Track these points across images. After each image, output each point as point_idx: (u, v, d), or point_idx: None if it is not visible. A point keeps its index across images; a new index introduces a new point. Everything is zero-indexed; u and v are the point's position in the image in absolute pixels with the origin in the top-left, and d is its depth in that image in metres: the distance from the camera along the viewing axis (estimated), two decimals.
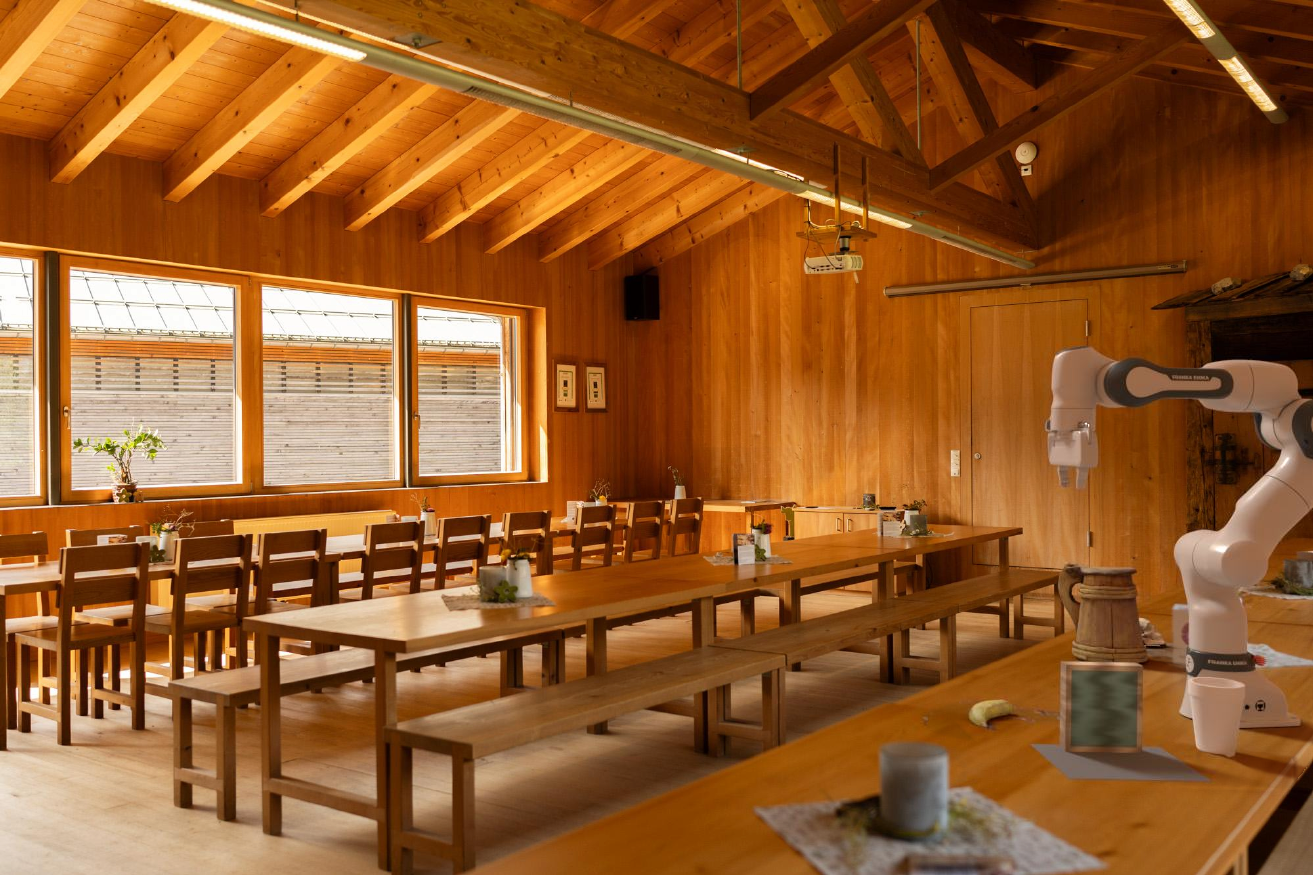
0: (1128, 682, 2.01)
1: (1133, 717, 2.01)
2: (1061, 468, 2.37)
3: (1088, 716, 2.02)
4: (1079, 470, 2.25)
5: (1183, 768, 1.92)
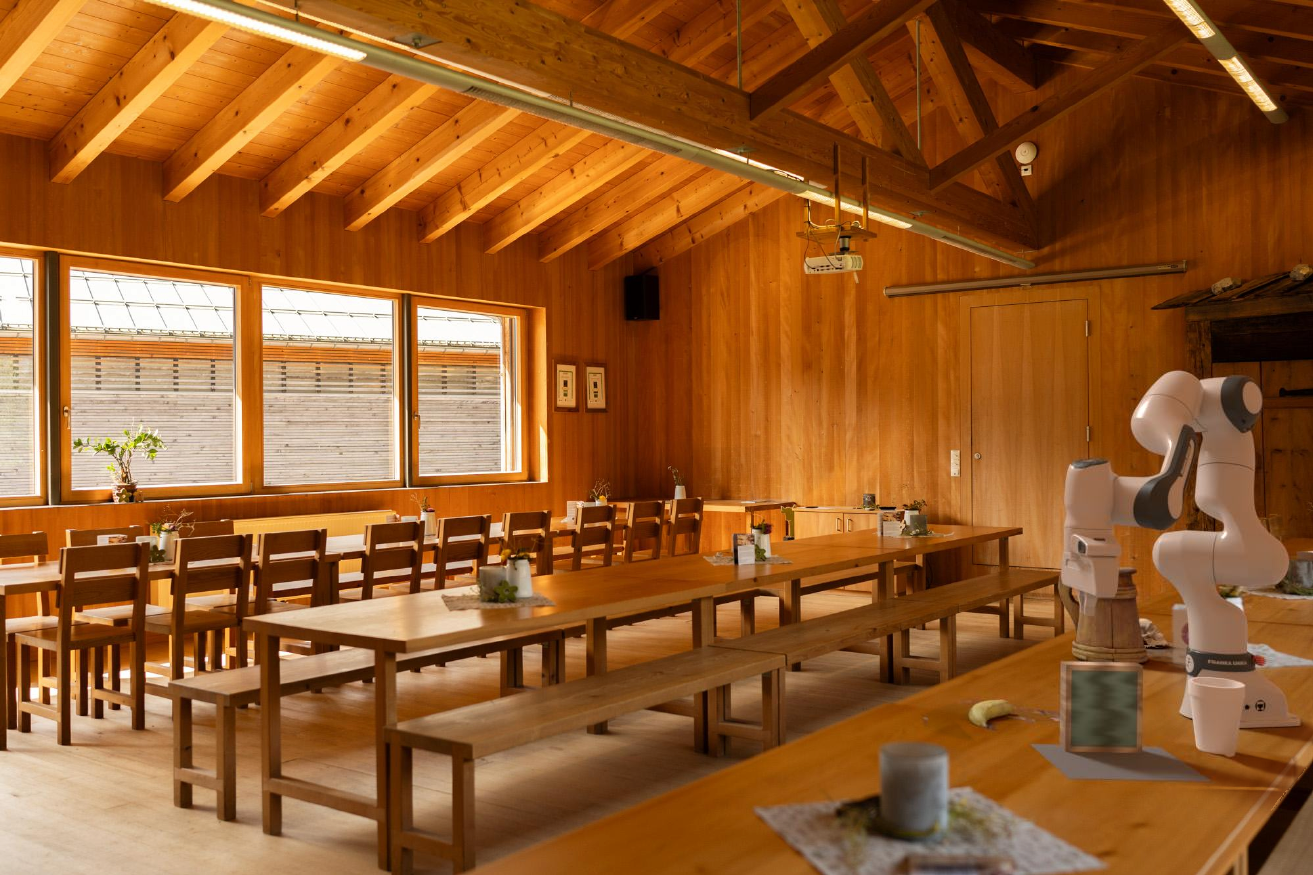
0: (1128, 682, 2.01)
1: (1133, 717, 2.01)
2: None
3: (1088, 716, 2.02)
4: None
5: (1183, 768, 1.92)
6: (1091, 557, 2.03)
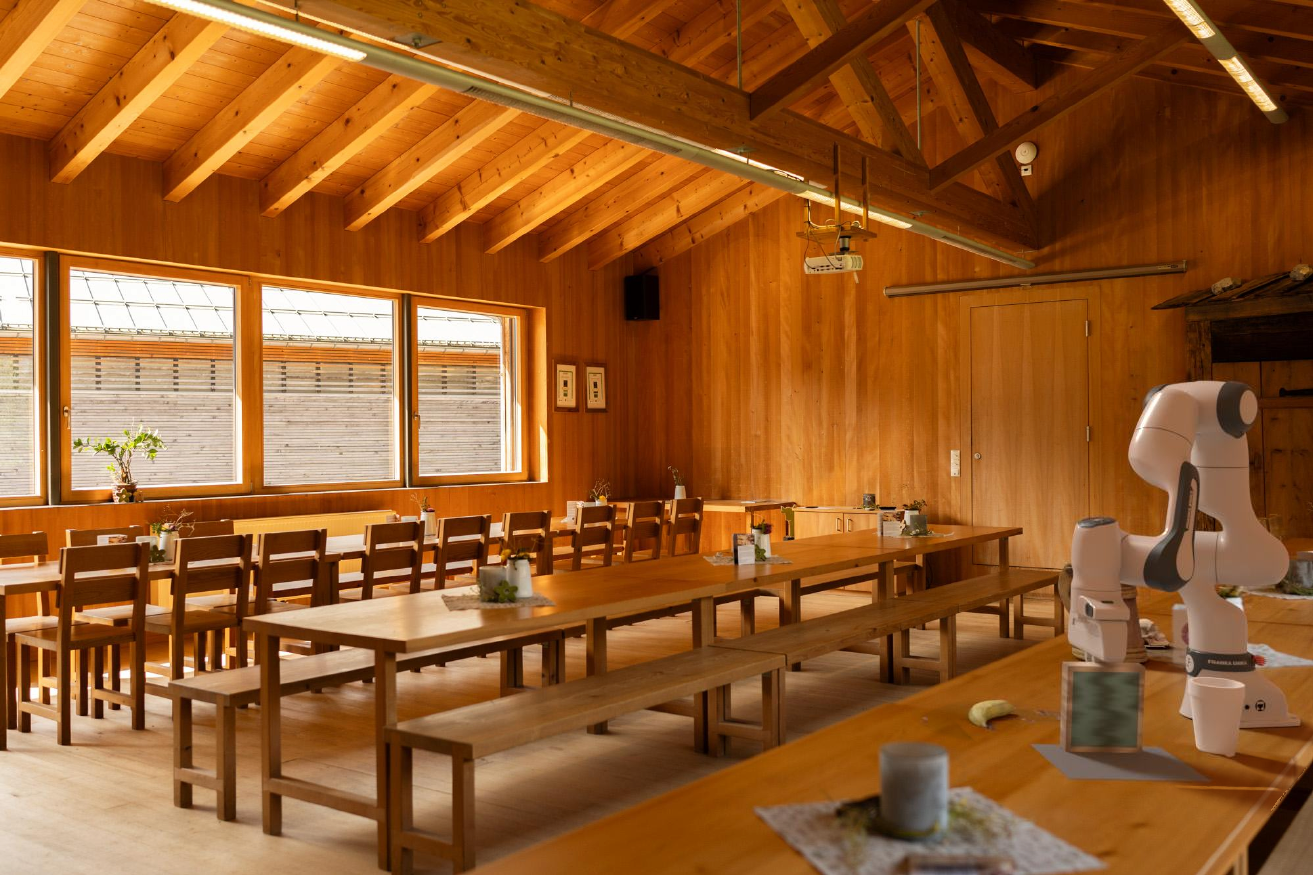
0: (1130, 683, 2.01)
1: (1134, 717, 2.01)
2: None
3: (1089, 717, 2.01)
4: None
5: (1183, 768, 1.92)
6: (1099, 621, 1.98)
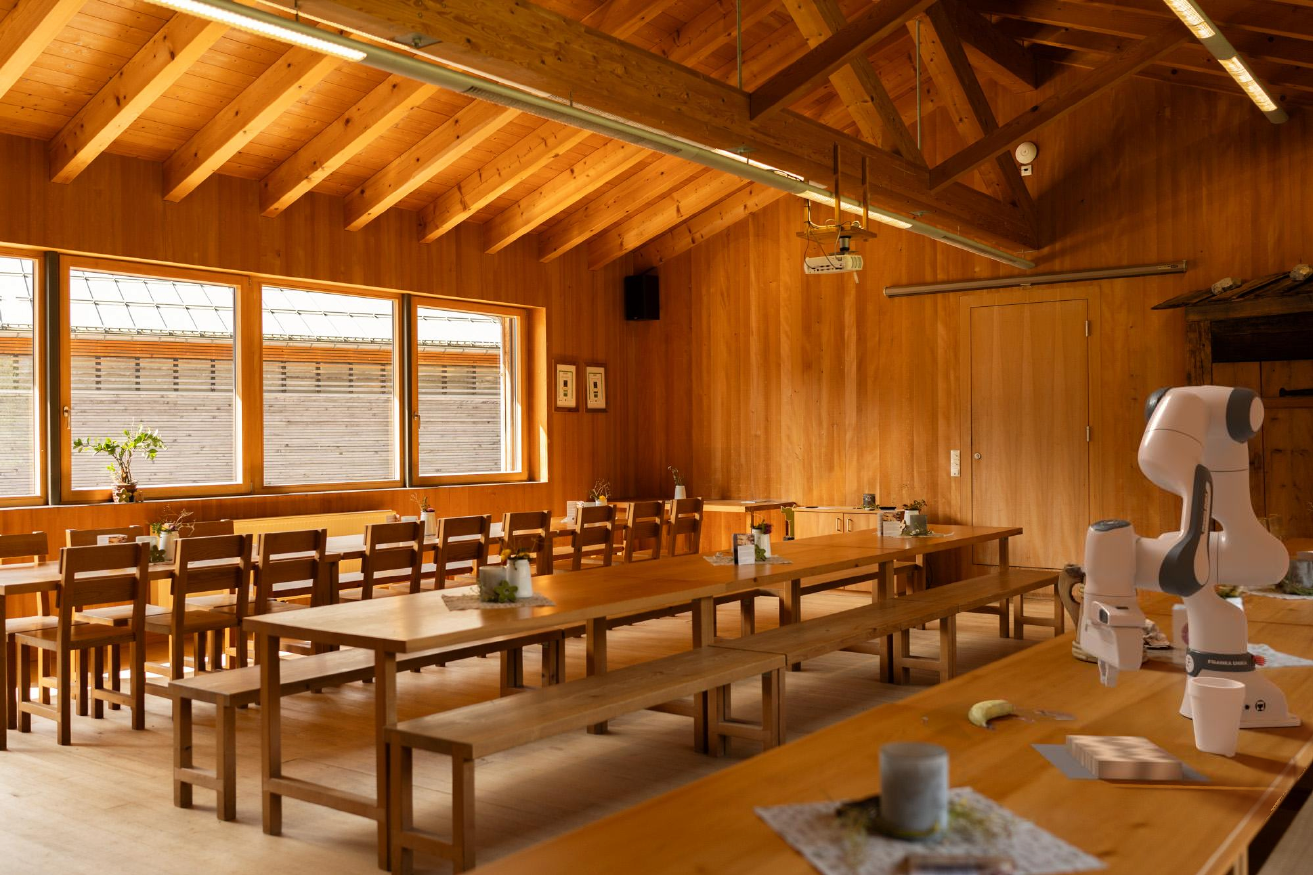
0: None
1: None
2: None
3: None
4: None
5: (1183, 768, 1.92)
6: (1114, 627, 1.91)
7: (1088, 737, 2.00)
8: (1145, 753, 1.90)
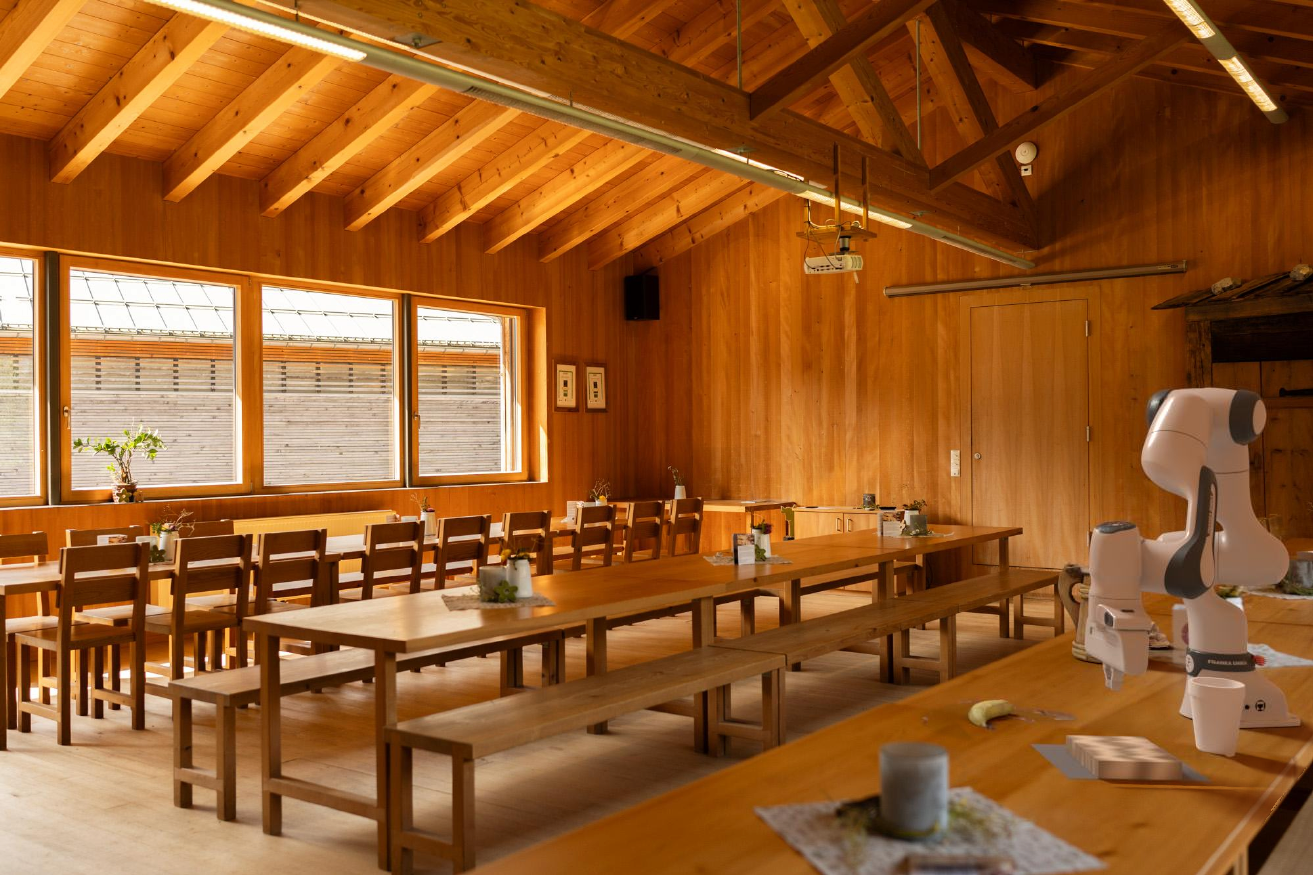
0: None
1: None
2: None
3: None
4: None
5: (1183, 768, 1.92)
6: (1119, 631, 1.89)
7: (1088, 737, 2.00)
8: (1145, 753, 1.90)
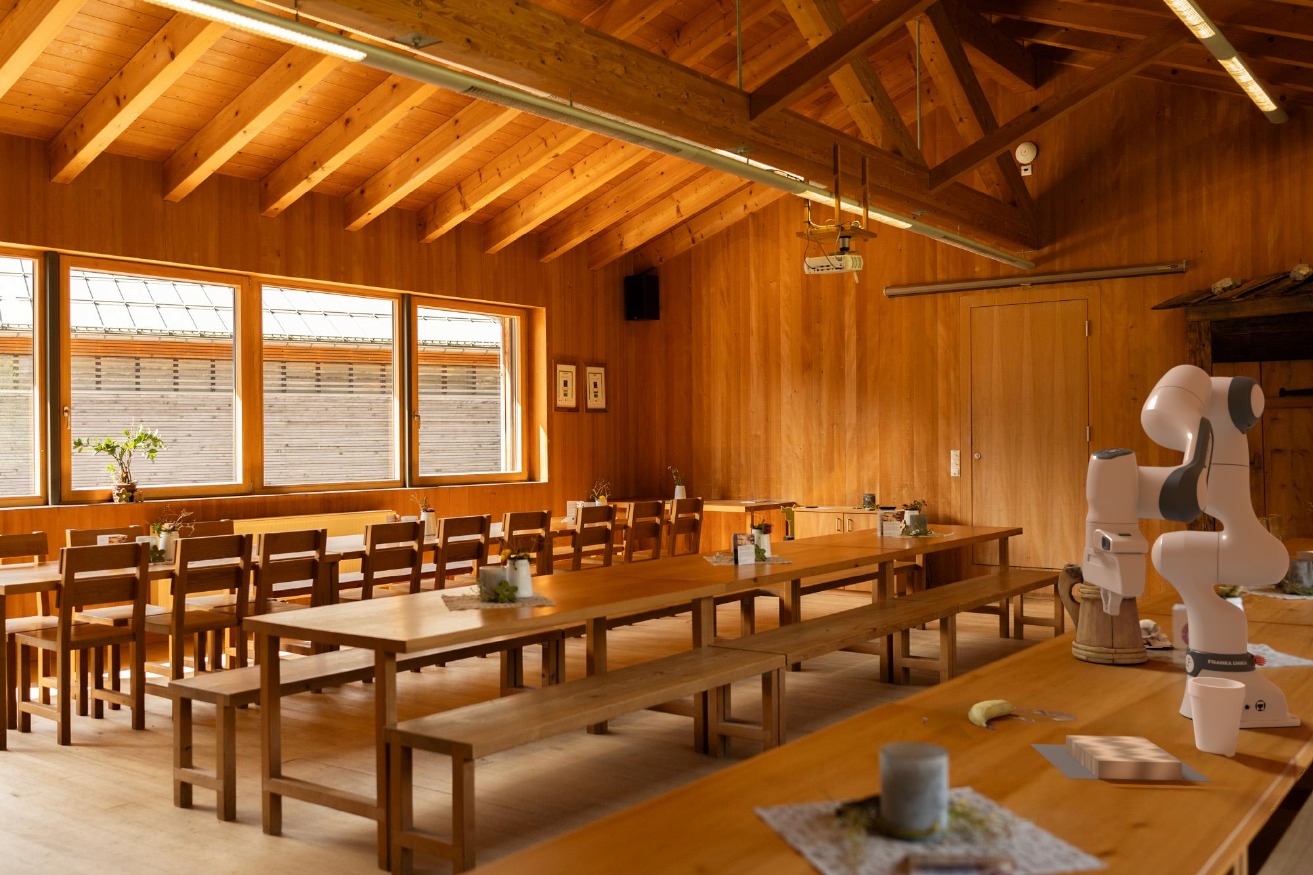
0: None
1: None
2: None
3: None
4: None
5: (1183, 768, 1.92)
6: (1116, 554, 1.91)
7: (1088, 737, 2.00)
8: (1145, 753, 1.90)
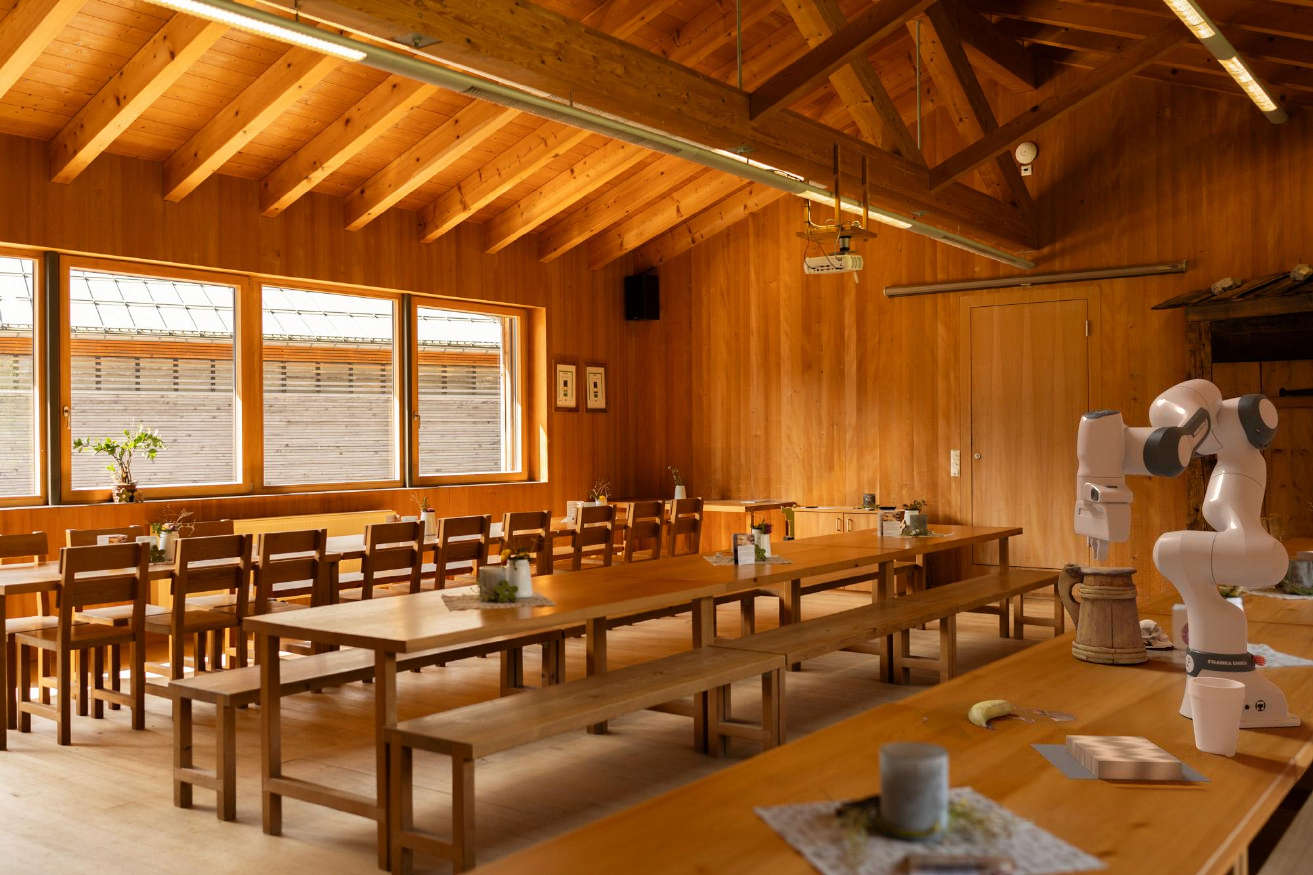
0: None
1: None
2: None
3: None
4: None
5: (1183, 768, 1.92)
6: (1104, 503, 2.10)
7: (1088, 737, 2.00)
8: (1145, 753, 1.90)
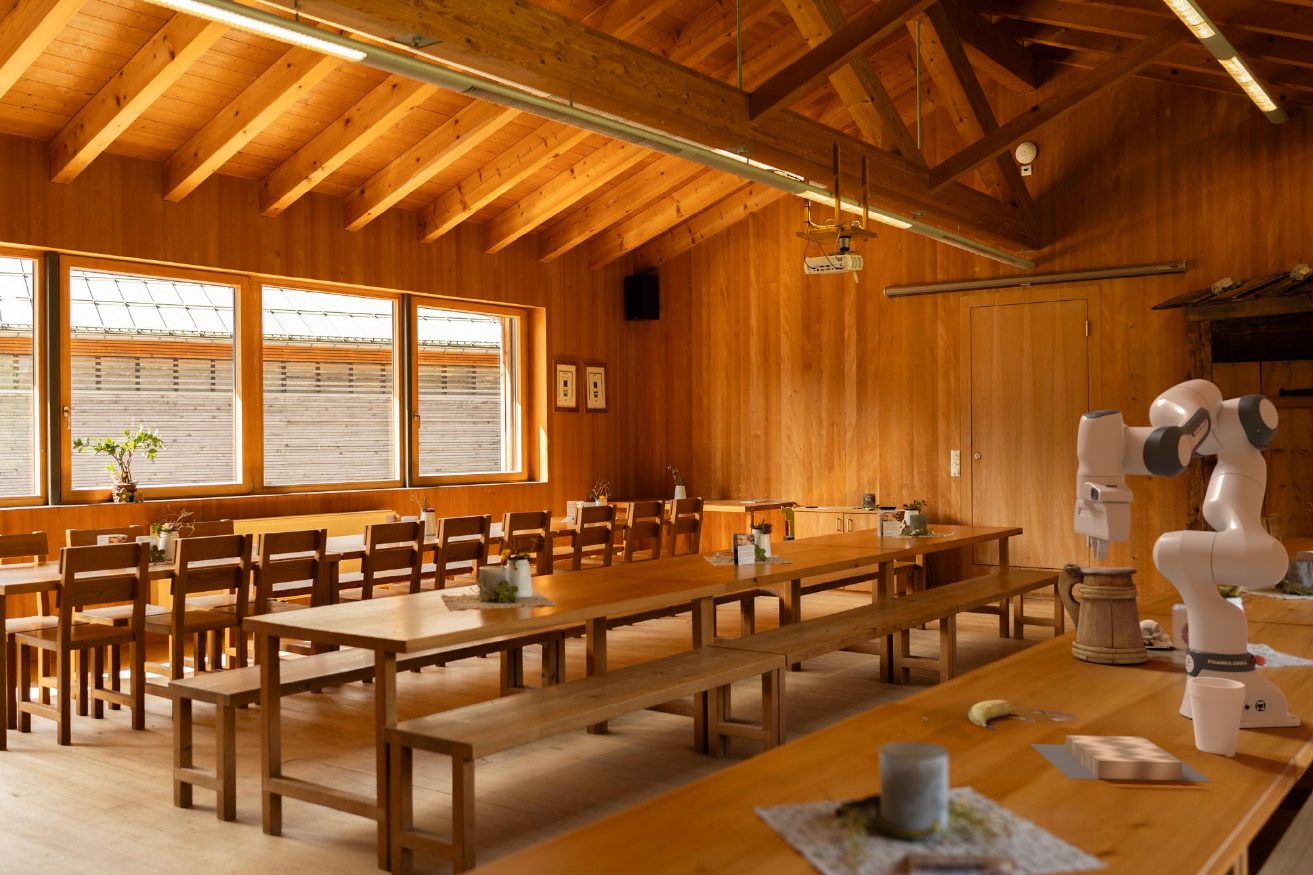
0: None
1: None
2: None
3: None
4: None
5: (1183, 768, 1.92)
6: (1104, 503, 2.10)
7: (1088, 737, 2.00)
8: (1145, 753, 1.90)
